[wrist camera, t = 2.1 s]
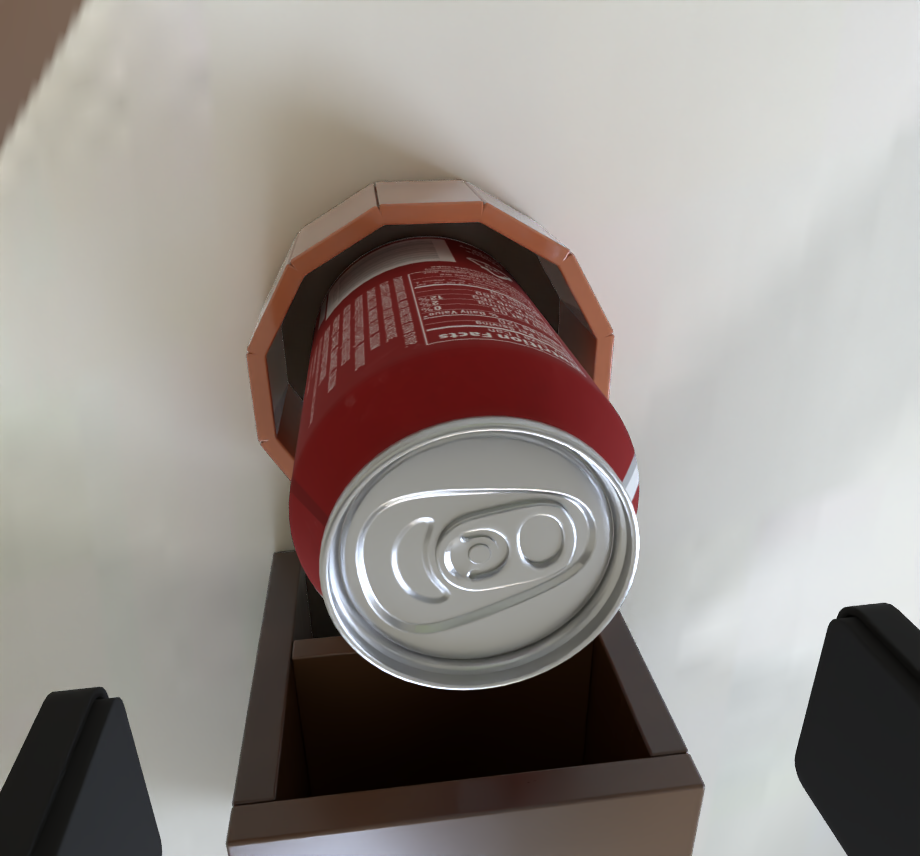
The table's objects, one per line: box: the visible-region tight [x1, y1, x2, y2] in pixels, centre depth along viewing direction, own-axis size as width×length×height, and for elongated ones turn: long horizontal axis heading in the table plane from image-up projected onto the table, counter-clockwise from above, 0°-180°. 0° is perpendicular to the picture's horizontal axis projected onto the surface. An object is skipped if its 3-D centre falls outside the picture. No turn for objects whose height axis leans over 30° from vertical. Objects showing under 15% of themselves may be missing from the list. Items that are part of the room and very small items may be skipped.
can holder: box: [246, 180, 614, 481], centre depth 22 cm, size 10×10×4 cm
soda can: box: [289, 236, 639, 690], centre depth 18 cm, size 7×7×12 cm
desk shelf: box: [226, 551, 705, 856], centre depth 25 cm, size 11×13×11 cm
